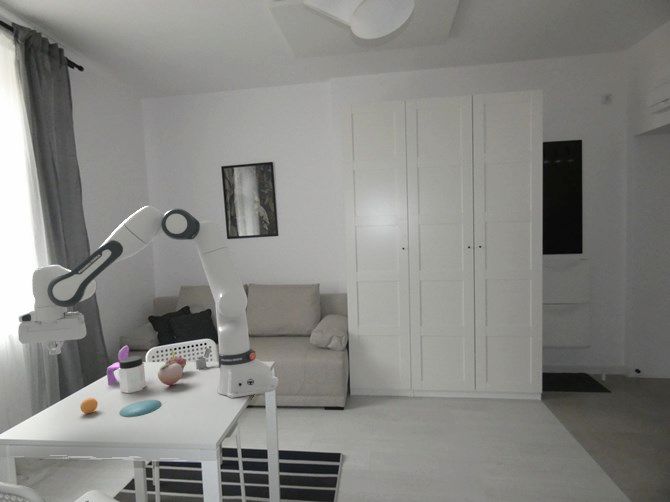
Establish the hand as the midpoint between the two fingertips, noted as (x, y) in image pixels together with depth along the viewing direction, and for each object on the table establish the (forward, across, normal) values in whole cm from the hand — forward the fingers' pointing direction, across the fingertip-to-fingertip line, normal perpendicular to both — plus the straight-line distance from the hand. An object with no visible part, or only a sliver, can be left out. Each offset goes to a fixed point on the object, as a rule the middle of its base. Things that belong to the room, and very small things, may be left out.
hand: (55, 354), depth 136 cm
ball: (+19, -10, 0) cm, 21 cm away
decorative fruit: (+21, -30, -20) cm, 42 cm away
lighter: (+21, -37, -41) cm, 59 cm away
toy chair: (+21, -6, -30) cm, 37 cm away
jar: (+21, -15, -20) cm, 33 cm away
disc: (+21, -26, 0) cm, 34 cm away
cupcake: (+21, -27, -34) cm, 49 cm away
